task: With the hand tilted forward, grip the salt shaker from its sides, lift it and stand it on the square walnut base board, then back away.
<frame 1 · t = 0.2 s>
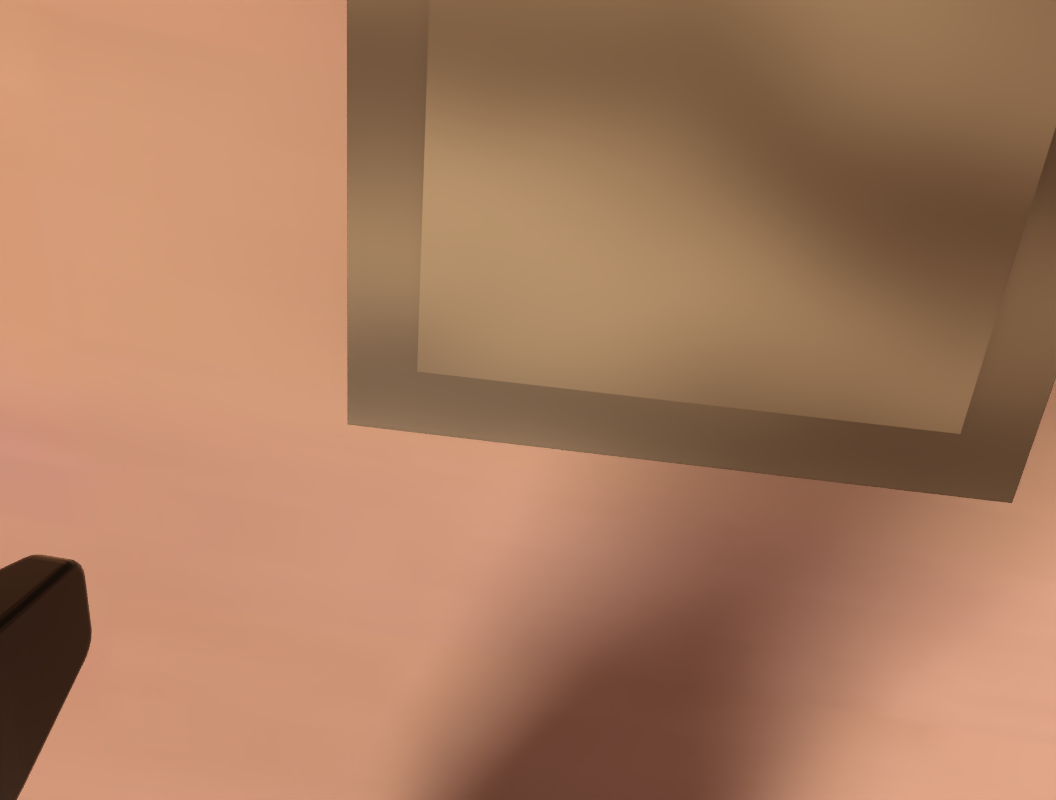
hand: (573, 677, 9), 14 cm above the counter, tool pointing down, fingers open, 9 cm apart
base board: (717, 99, 20), on the counter
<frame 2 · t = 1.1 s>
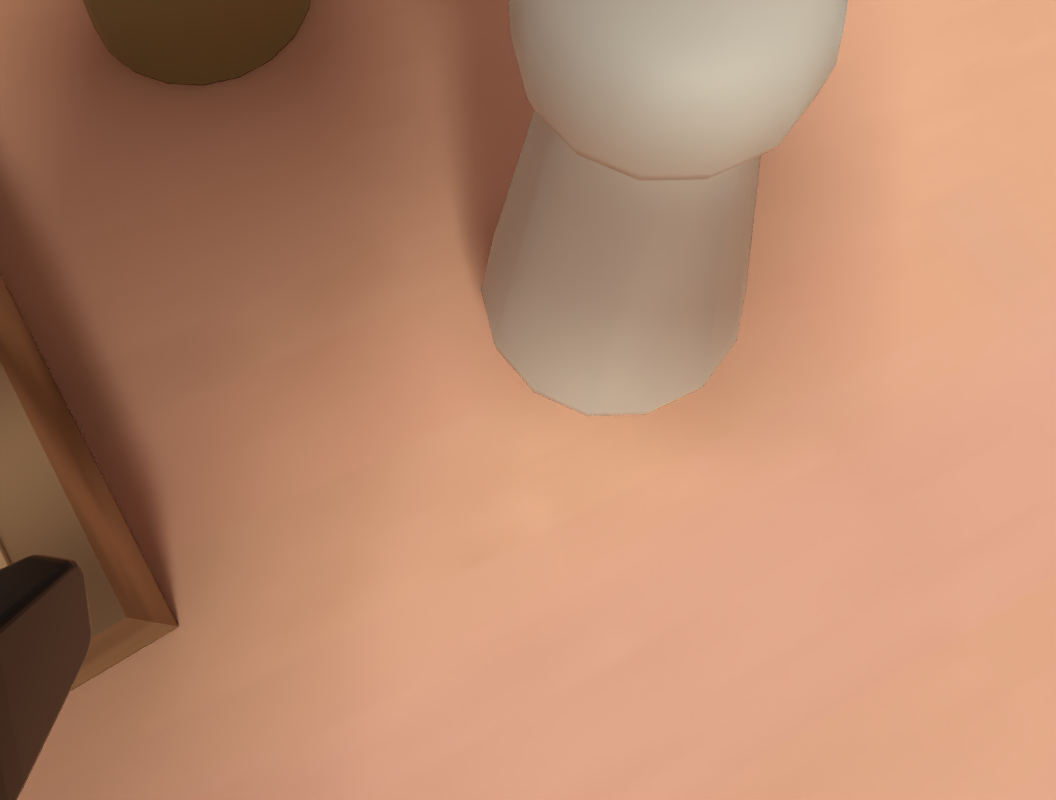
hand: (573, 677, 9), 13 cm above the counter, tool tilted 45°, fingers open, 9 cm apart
salt shaker: (603, 330, 24), on the counter
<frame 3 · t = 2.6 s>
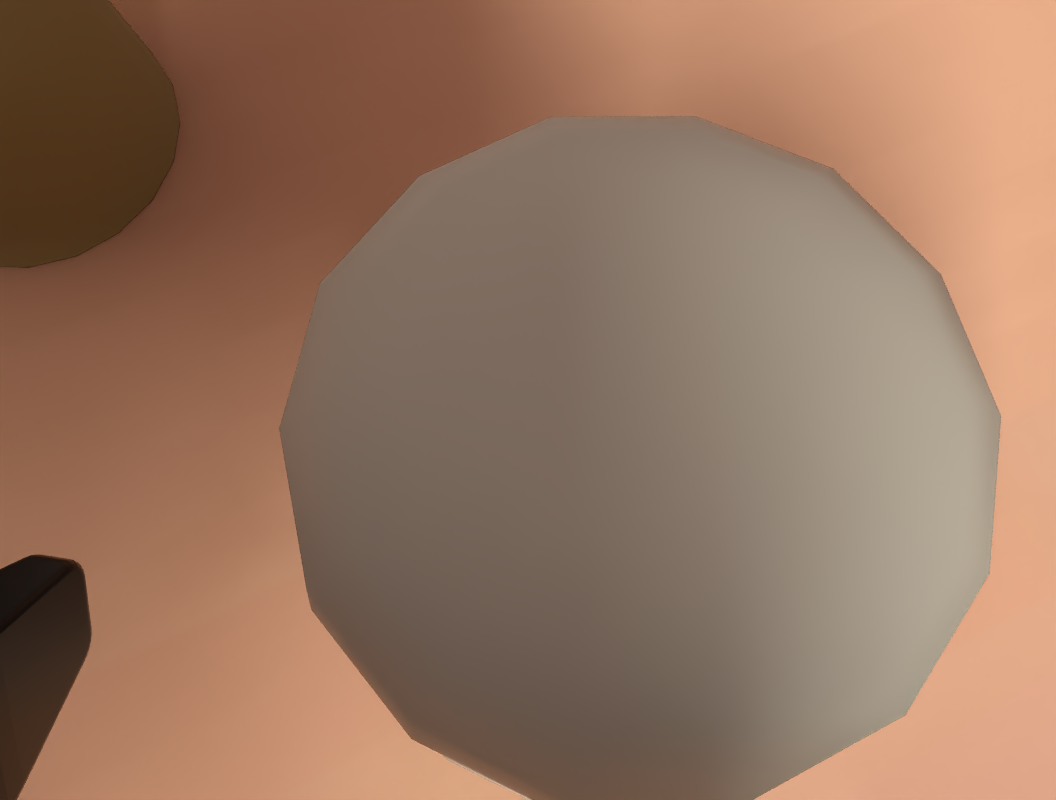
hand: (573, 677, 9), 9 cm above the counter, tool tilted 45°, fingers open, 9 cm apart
pepper shaker: (38, 141, 20), on the counter
salt shaker: (557, 614, 18), on the counter
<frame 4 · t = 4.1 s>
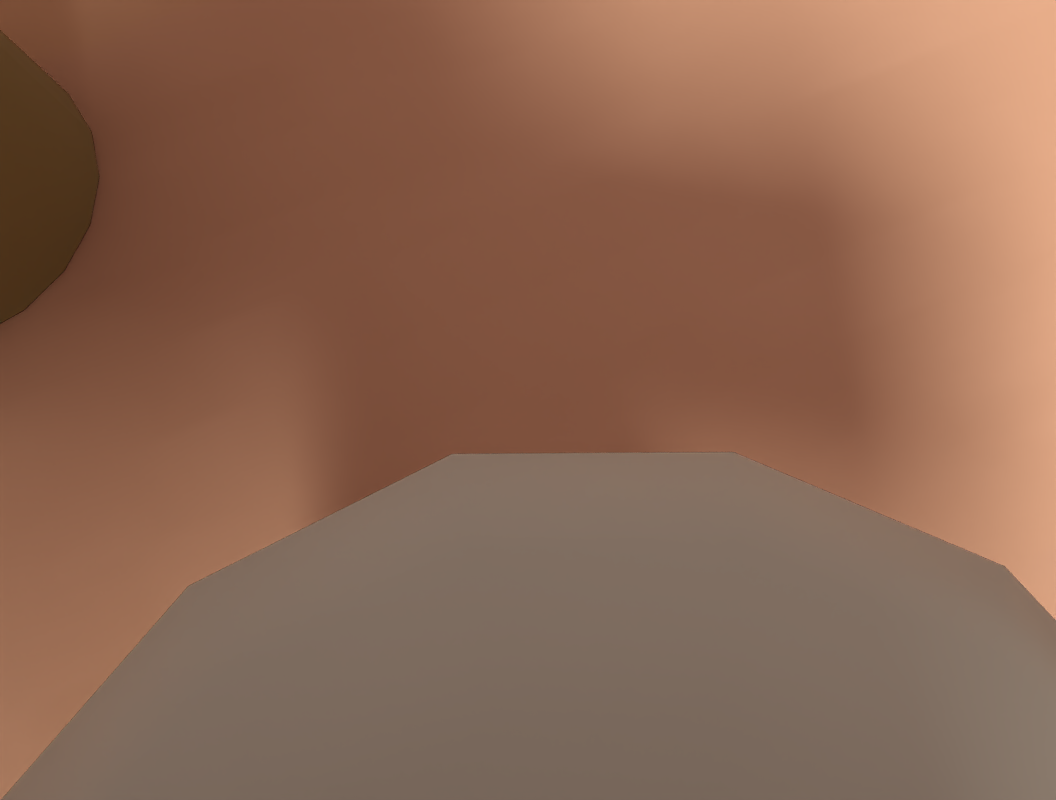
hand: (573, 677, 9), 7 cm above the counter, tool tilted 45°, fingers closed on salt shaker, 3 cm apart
salt shaker: (537, 779, 15), on the counter, touching gripper
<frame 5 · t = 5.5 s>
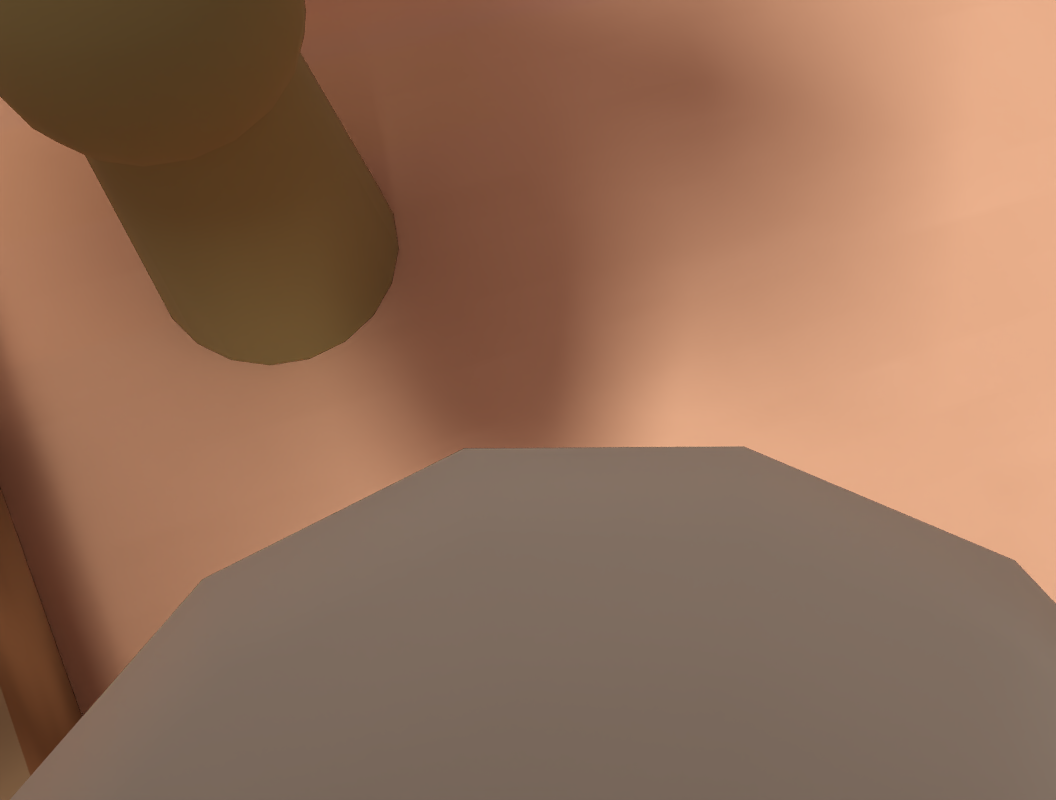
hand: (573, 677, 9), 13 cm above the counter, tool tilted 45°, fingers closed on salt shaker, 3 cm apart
pepper shaker: (278, 253, 24), on the counter
salt shaker: (542, 776, 15), point 6 cm above the counter, touching gripper
when the fingers open (11 cm above the counter, at t = 7.2 s): salt shaker stays where it is, resting on base board.
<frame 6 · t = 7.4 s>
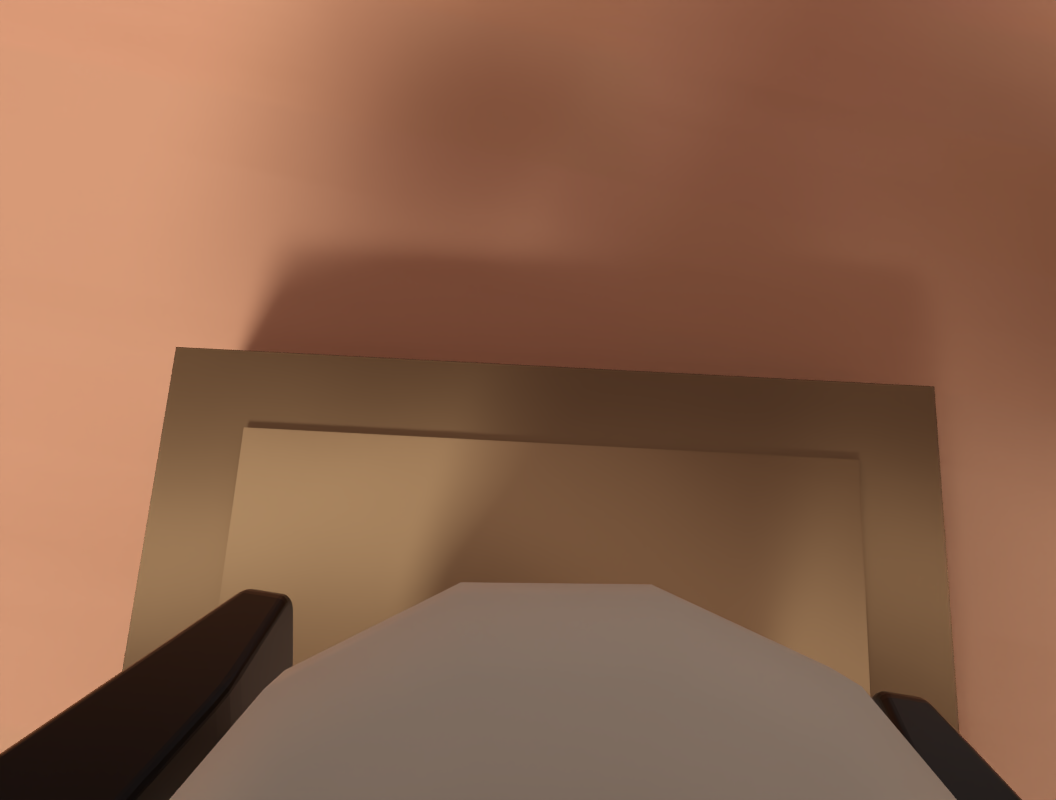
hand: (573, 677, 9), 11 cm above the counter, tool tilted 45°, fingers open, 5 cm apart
base board: (532, 759, 19), on the counter
salt shaker: (537, 786, 16), point 3 cm above the counter, touching base board
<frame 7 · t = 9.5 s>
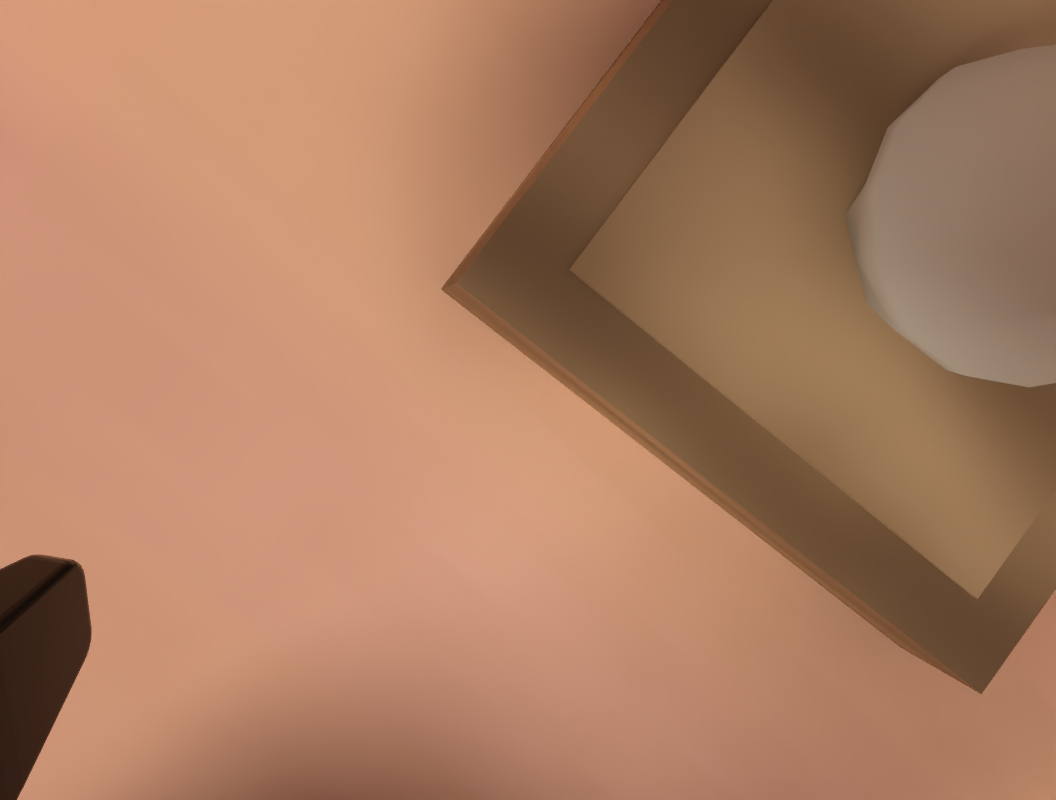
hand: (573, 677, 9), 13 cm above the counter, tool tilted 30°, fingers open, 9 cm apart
base board: (864, 237, 23), on the counter
salt shaker: (934, 234, 20), point 3 cm above the counter, touching base board
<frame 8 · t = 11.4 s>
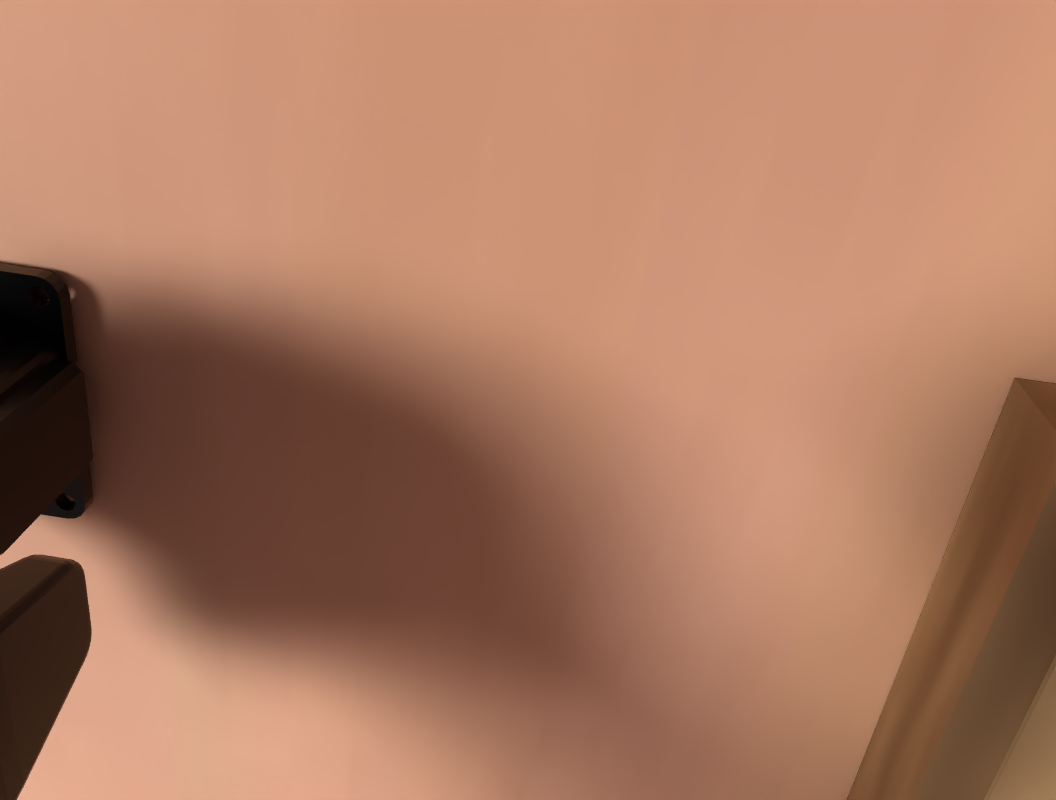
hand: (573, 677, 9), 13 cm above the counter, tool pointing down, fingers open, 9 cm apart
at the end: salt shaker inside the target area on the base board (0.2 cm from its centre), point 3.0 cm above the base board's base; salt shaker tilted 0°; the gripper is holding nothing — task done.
